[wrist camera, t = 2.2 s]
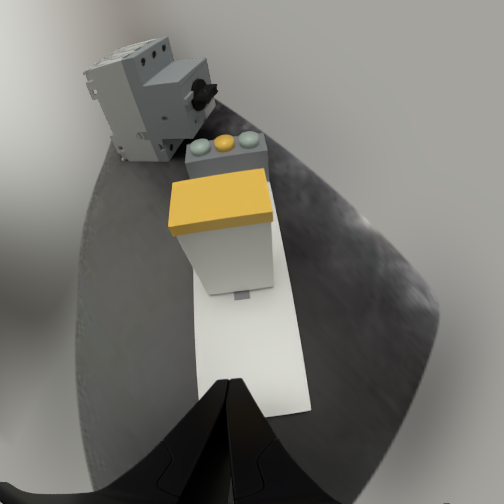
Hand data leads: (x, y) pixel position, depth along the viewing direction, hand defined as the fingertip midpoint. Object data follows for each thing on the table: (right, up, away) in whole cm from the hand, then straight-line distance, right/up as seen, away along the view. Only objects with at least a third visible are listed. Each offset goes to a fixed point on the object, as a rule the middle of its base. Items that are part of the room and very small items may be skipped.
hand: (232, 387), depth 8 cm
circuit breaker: (-10, +19, +27) cm, 34 cm away
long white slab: (0, +3, +15) cm, 16 cm away
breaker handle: (0, +3, +13) cm, 13 cm away
